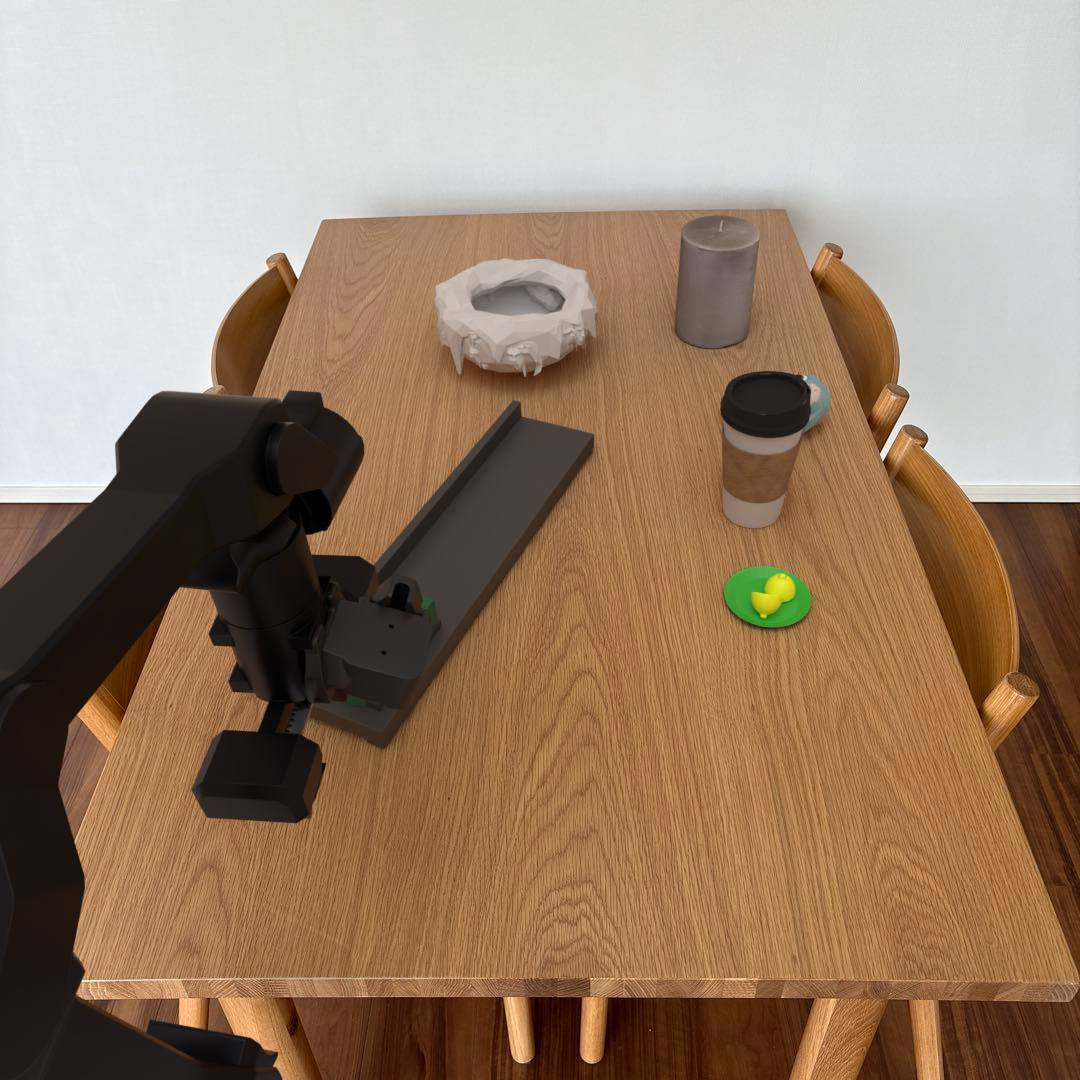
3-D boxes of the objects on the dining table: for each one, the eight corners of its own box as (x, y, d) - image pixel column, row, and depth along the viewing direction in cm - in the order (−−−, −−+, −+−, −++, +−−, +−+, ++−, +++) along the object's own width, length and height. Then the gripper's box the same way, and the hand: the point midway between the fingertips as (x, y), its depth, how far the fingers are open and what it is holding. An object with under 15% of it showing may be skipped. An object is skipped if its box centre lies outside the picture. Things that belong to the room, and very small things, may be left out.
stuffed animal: (717, 355, 112) (824, 340, 109) (724, 406, 116) (826, 392, 113) (720, 409, 104) (835, 393, 101) (727, 460, 108) (837, 447, 106)
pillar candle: (686, 307, 131) (693, 200, 121) (756, 318, 128) (770, 210, 118) (665, 342, 125) (670, 232, 114) (738, 355, 122) (751, 244, 111)
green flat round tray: (805, 639, 86) (809, 618, 84) (716, 622, 88) (719, 601, 86) (814, 579, 92) (819, 557, 90) (731, 564, 94) (733, 543, 92)
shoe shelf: (386, 750, 79) (377, 717, 76) (288, 711, 83) (276, 678, 80) (594, 451, 108) (594, 419, 105) (515, 431, 112) (513, 399, 109)
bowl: (477, 306, 134) (471, 238, 127) (618, 327, 128) (619, 257, 121) (412, 386, 120) (401, 314, 113) (567, 413, 114) (565, 340, 107)
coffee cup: (794, 540, 96) (816, 417, 86) (708, 533, 97) (721, 412, 87) (791, 487, 102) (812, 366, 92) (711, 481, 103) (723, 362, 93)
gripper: (371, 738, 46) (415, 896, 56) (438, 488, 59) (463, 653, 70) (148, 726, 47) (232, 883, 57) (264, 483, 60) (315, 646, 71)
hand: (323, 755), depth 64 cm, fingers open, 9 cm apart
